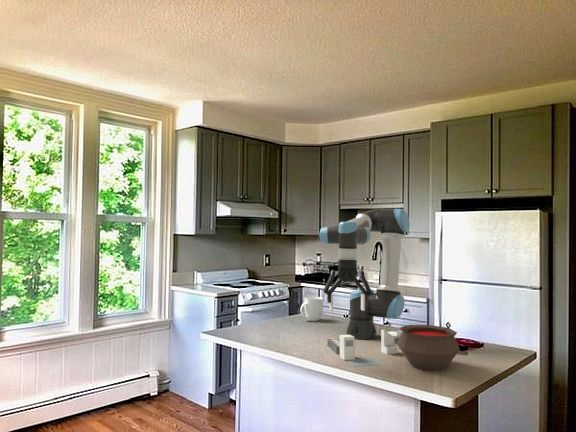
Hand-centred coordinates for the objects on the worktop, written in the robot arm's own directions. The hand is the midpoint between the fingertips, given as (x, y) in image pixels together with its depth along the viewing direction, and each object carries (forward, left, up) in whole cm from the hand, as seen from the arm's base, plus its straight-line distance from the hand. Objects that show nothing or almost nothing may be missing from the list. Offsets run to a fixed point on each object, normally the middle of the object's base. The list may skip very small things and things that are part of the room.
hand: (347, 310), depth 187 cm
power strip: (0, -17, -20) cm, 26 cm away
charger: (0, 0, -20) cm, 20 cm away
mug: (-5, -81, -20) cm, 84 cm away
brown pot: (-29, +13, -20) cm, 38 cm away
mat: (-5, +7, -20) cm, 21 cm away
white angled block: (-21, -6, -20) cm, 30 cm away
